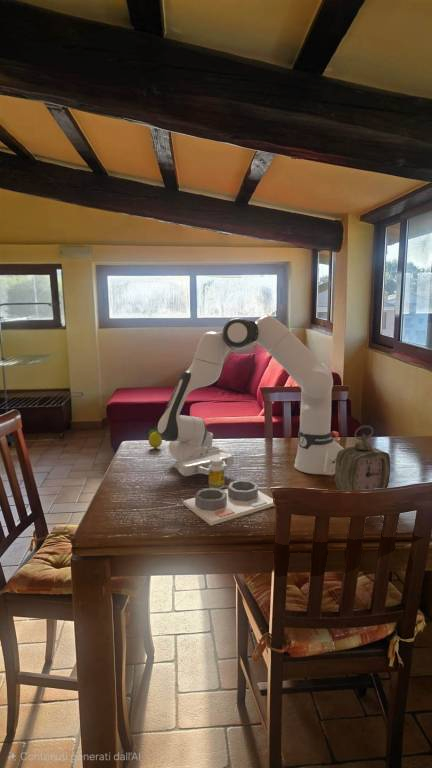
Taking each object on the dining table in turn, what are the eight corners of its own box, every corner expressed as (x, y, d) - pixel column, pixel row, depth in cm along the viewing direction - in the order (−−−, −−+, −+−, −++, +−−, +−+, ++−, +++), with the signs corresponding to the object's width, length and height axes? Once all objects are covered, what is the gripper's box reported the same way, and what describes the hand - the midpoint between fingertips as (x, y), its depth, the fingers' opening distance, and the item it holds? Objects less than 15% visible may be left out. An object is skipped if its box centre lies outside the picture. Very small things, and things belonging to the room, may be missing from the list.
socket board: (246, 487, 157) (246, 475, 156) (277, 504, 143) (277, 492, 143) (183, 504, 144) (183, 491, 143) (211, 525, 131) (210, 511, 130)
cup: (196, 447, 198) (196, 428, 197) (215, 447, 197) (215, 429, 196) (191, 455, 188) (191, 436, 186) (211, 456, 187) (211, 437, 185)
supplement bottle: (210, 482, 161) (210, 456, 159) (225, 484, 159) (225, 457, 158) (206, 488, 155) (206, 461, 154) (222, 490, 154) (222, 462, 152)
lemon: (164, 450, 194) (163, 427, 192) (150, 451, 192) (149, 428, 190) (161, 445, 200) (160, 423, 198) (147, 446, 198) (147, 424, 197)
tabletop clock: (349, 514, 137) (354, 432, 133) (330, 501, 146) (334, 424, 141) (387, 505, 143) (393, 426, 138) (367, 493, 151) (372, 419, 147)
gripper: (170, 455, 161) (190, 467, 149) (220, 445, 172) (242, 455, 160) (171, 472, 162) (190, 486, 151) (220, 461, 173) (242, 473, 161)
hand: (217, 470), depth 155 cm, fingers closed on supplement bottle, 5 cm apart
